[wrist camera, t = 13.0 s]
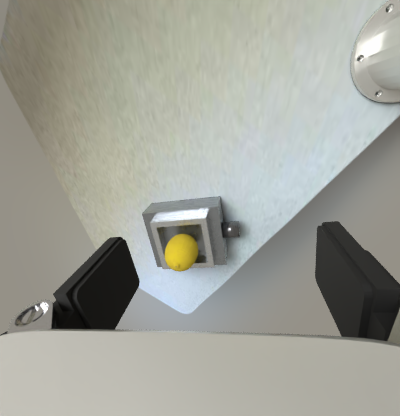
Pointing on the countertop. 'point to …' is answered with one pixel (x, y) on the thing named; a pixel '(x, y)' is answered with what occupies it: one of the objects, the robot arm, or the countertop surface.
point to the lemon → (181, 252)
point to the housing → (190, 229)
